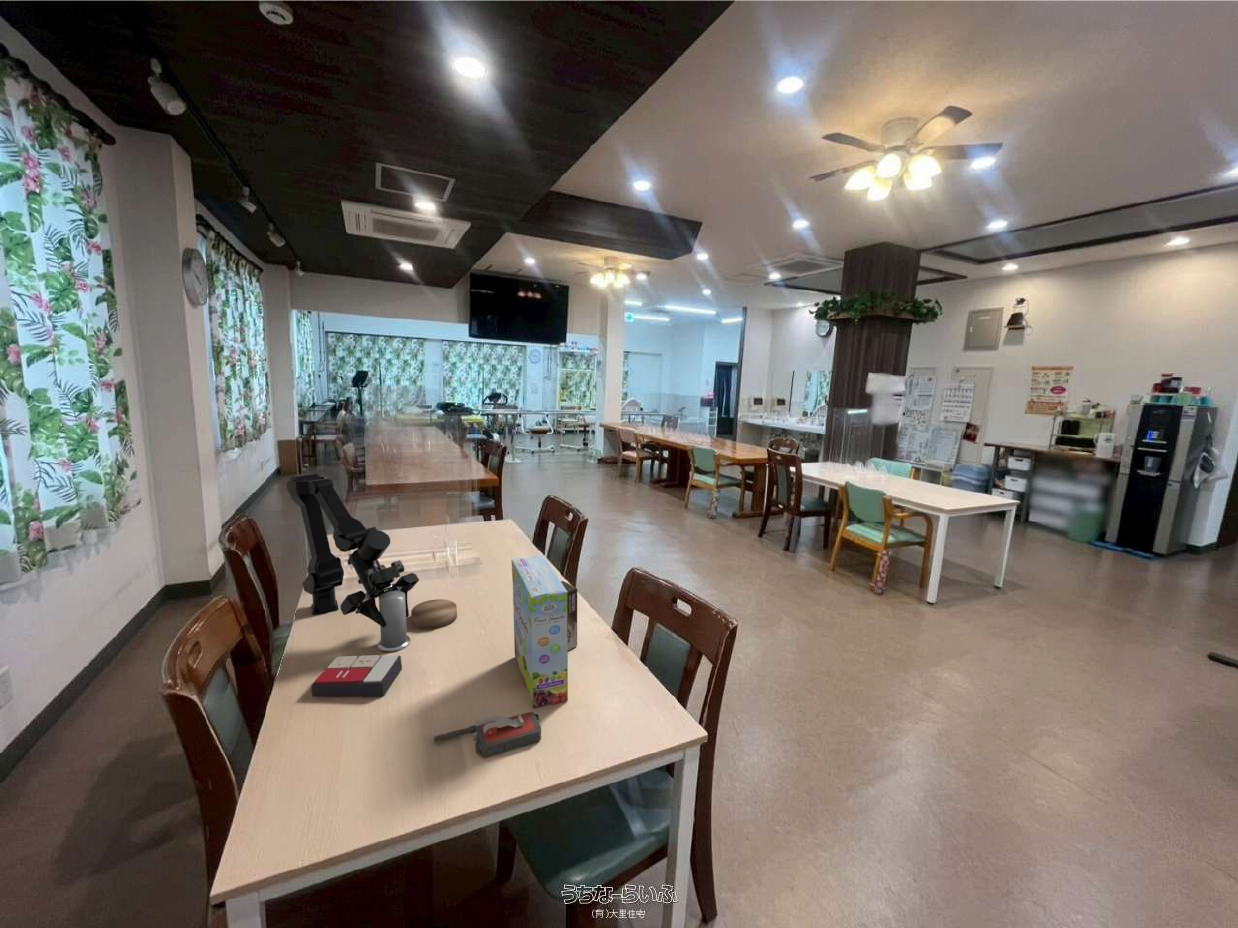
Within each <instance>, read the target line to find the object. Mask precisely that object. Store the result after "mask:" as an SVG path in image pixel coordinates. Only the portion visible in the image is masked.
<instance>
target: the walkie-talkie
mask: <svg viewBox="0 0 1238 928" xmlns="http://www.w3.org/2000/svg"><path fill="white" fill-rule="evenodd" d="M474 722H475V723H474V724H473V725H469V727H465V728H464V727H463V728H461V729H458V730H454V731H449V732H446V733H445V732H444V733H442V734H438V735H434V737H433V742H434V743H438V742H442V741H445V740H448V739H452V738H456V737H460V736H464V735H467V734H468V735H469V734H473V735H472V740H473V741H475V742H474V748H475V753H476V754H477V755H479V754H480V755H481V758H482V759H487V758H488V759H489V758H491V757H494V756H498V755H502V754H504V753H508V752H510V751H514V750H517V749H521V748H525V747H528V746H531V745H534V744H538V743H540V742H541V740H542V726H541V724H540V723H539V714H538V713H535V712H533V711H528V712H524V713H521V714H517V715H513V716H509V717H505V716H497V715H495V716H492V717H487V718H483V719H477V720H475V721H474Z"/></svg>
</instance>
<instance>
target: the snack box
mask: <svg viewBox="0 0 1238 928" xmlns="http://www.w3.org/2000/svg"><path fill="white" fill-rule="evenodd" d="M511 574H512V575H511V576H512V577H511V578H512V599H513V600H512V605H513V606H512V607H513V635H514V636H513V638H514V641H513V642H514V656H515V660H516V663H517V666H518V668H519V671H520V674H521V676H522V680H523V683H524V685H525V688H526V692H527V694H528V697H529V700H530V703H531V706H532V709H536V708H541V707H546V706H549V705H554V704H557V703H559V704H560V703H565V702H568V701H569V693H568V692H569V690H568V689H569V687H568V683H569V682H568V681H569V680H568V679H569V678H568V677H569V674H568V673H569V671H568V670H569V669H568V668H569V667H568V662H569V661H568V659H569V658H568V657H569V656H568V651H569V650H568V592H567V590H566V589H565V587H564V586H563V584H562V583H561V581H562V580H560V578H559V577H558V576H557V574H556V573H555V572H554V570H553V568H552V567H551V565H550V563H549V562H548V561H547V559H546V557H545V556H544V555H535V556H528V557H520V558H519V557H518V558H511Z"/></svg>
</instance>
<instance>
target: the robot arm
mask: <svg viewBox="0 0 1238 928" xmlns="http://www.w3.org/2000/svg"><path fill="white" fill-rule="evenodd" d="M286 489H287V492H288V493H289V496H290V498H291V500H292V501H294V503H295V504H296V505H297V506H298V507H300V510H301V511H300V512H301V515H302V516H301V517H302V519H303V520H302V521H303V523H304V524H303V525H304V530H305V532H306V538H307V542H308V543H307V544H308V547H309V551H310V555H311V558H310V560H309V563H308V565H307V569H306V570H307V576H306V578H305V579H304V580H303V582H302V587H303V591H304V592H306V593H308V594H310V595H312V604H311V614H312V615H318V614H323V613H327V612H333V611H338V610H339V604H338V600H337V599H336V587H339V586H343V581H344V576H345V571H344V567H343V566H342V561H341V560H342V559H341V558H340V557H339V556H335V554H333V553H332V551H331V547H330V542H329V537H328V534H327V533H328V532H327V528H326V524H325V519H324V516H323V515H324V514H325V516H326V517H327V519H328V520H329V522H330V524H331V526H332V528H333V533H332V538H333V540H334V541H333V542H334V545H335V547H336V548H337V549H338V550H339V551H340V552H344V553H346V552H350V551H353V552H352V553H350V554H348V558H347V565H348V566H350V565H352V567H353V568H354V571H355V572H356V575H357V577H358V580H357V583H358V584H359V585H362V586H363V588H364V590H365V591H363V590H359V591H356V592H353V593H351V594H350V593H349V594H347V596H346V597H345V598H344V599H343V601H342V602H341V604H340V611H341V613H342V614H343V616H346V615H349V614H351V613H354V612H355V614H356V615H357V614H361V615H362V616H364V617H367V618H368V619H369V620H371V621H372V622H374V623H376V624H377V625H378V626H382V627H385V626H386V623H385V621H384V619H383V617H382V615H381V614H380V611H379V607H377V603H376V602H377V601H376V599H377V598H378V599H379V596H380V595H382V594H384V593H387V592H391V591H401V592H403V593H405V606H406V619H407V618H408V617H409V616H410V613H409V603H408V593H409V591H411V590H413V588H414V587H415V586H416V585H417V583H418V582H419V581H420V579H419V577H418V575H417V574H416V573H413V572H410V573H408V574H405V575H400V574H401V573H403V572H404V571H405V570H406V569H405V567H404V564H403V563H402V561H401V560H400V559H399V560H396V561H393V562H391V563H390V566H389V567H386V566H385V565H384V564H381V563H380V562H379V559H380V558H381V557H382V556H383V554H384V553H385V552H386V551H387V549H388V547H389V546H390V544H391V538H390V535H389V534H387V533H386V532H385V531H382V530H378V529H377V527H376V526H372V527H368V528H366V527H365V525H364V524H363V523H362V521H361V520H358V519H356V518H354V517H353V516H352V515H351V514H350V512H349V511H348V509H347V507H346V505H345V504H344V503H343V501H342V499H341V498H340V496H339V494H338V493H337V491H336V489H335V488H334V482H333V481H332V479H331V478H328V477H327V476H322V475H319V474H318V473H316V472H312V473H306V474H298V475H293V476H291V477H290V478H289V480H288V481H287V482H286ZM322 511H323V512H324V514H323V512H322ZM398 578H399V579H398ZM395 579H398V580H397V581H396V582H395ZM393 582H395V583H393Z"/></svg>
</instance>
